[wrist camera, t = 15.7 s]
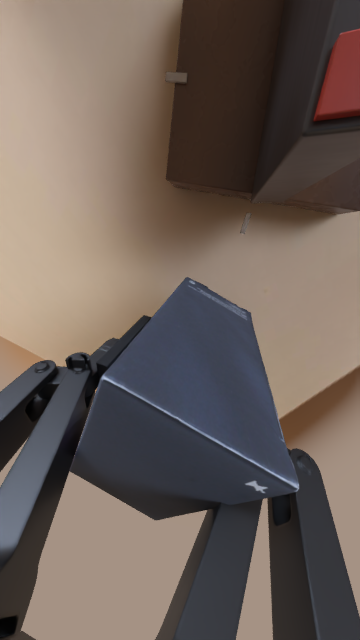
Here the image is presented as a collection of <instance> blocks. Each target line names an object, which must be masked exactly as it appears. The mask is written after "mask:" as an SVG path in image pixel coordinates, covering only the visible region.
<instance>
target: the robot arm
mask: <svg viewBox="0 0 360 640" xmlns="http://www.w3.org/2000/svg"><path fill="white" fill-rule="evenodd" d="M150 319H151V317H148V316H145V315H144V316H143V317H142V318H141V319H140V320H138V321H137V322H136V323H135V324H134V325H133V326H132V327H131V328H130V329H129V330H128V331H127V332H126V333H125V334H124V335H123V336H122V337H121V338H120V339H115V338H112V339H110V340H108V341H106V342H105V343H104V344H103V345H102V346H101V347H100V348H99V349H97V350H96V351H95V352H94V353H93V354H92V355H91V356H90V357H89V355H88V354H86V353H82V352H81V353H75V354H72V355H70V356H69V357H67V358H66V360H65V361H66V364H67V367H59V366H56V364H55V362H53V361H51V360H45V361H40V362H38V363H35V364H34V365H32V366H31V367H30V368H29V369H28V370H27V371H25V372H24V373H23V374H21V375H20V376H19V377H18V378H16V379H15V380H14V381H13V382H12V383H11V384H9V385H8V386H7V387H6V388H5V389H3V390H2V391H1V392H0V472H1V470H2V469H3V468H4V467H5V465H6V464H7V463H8V461H9V460H10V459H11V458H12V457H13V456H14V454H15V453H16V452H17V451H18V449H19V448H20V447H21V446H22V445H23V443H24V442H25V441H26V440H27V438H28V437H29V438H28V440H27V442H26V443H25V445H24V447H23V449H22V450H21V452H20V454H19V456H18V457H17V459H16V461H15V463H14V464H13V466H12V468H11V469H10V471H9V473H8V475H7V476H6V478H5V480H4V482H3V483H2V485H1V487H0V640H36V639H34V638H32V637H31V636H29V635H28V634H26V633H25V632H23V631H21V628H22V625H23V621H24V619H25V615H26V612H27V609H28V606H29V603H30V600H31V597H32V594H33V590H34V587H35V583H36V579H37V573H38V564H39V560H40V556H41V553H42V550H43V547H44V544H45V541H46V538H47V535H48V532H49V530H50V527H51V523H52V520H53V518H54V515H55V512H56V509H57V506H58V503H59V500H60V497H61V494H62V491H63V488H64V485H65V482H66V479H67V476H68V473H69V470H70V467H71V464H72V461H73V458H74V455H75V453H76V450H77V447H78V444H79V441H80V438H81V435H82V432H83V429H84V426H85V423H86V420H87V417H88V414H89V411H90V408H91V405H92V402H93V399H94V396H95V390H96V388H97V387H98V385H99V382H100V378H101V377H102V375H103V374H104V373H105V372H106V371H107V370H108V369H109V368H110V367H111V365H112V364H113V363H114V362H115V361H116V360H117V358H118V357H119V356H120V355H121V354H122V352H123V351H124V350H125V349H126V348H127V347H128V345H129V344H130V343H131V342H132V341H133V339H134V338H135V337H136V336H137V335H138V334H139V332H140V331H141V330H142V329H143V328H144V326H145V325H146V324H147V323H148V322H149V321H150ZM287 450H288V453H289V456H290V458H291V461H292V463H293V465H294V469H295V472H296V475H297V479H298V483H299V489H298V491H297V492H294V493H290V494H285V495H280V496H275V497H269V498H268V522H269V548H270V572H271V595H272V623H273V640H360V617H359V614H358V610H357V606H356V602H355V599H354V595H353V591H352V588H351V584H350V580H349V576H348V573H347V569H346V566H345V562H344V558H343V554H342V551H341V547H340V543H339V540H338V536H337V532H336V528H335V525H334V521H333V517H332V514H331V510H330V507H329V502H328V499H327V495H326V491H325V488H324V484H323V480H322V477H321V473H320V470H319V468H318V466H317V464H316V463H315V461H314V460H313V459H312V458H311V457H310V456H309V455H308V454H307V453H306V452H304V451H302V450H300V449H292V450H289V449H288V448H287ZM262 500H263V499H259V500H254V501H249V502H244V503H239V504H234V505H227V504H224V503H222V502H221V503H220V504H219V505H218V506H217V507H215V508H213V509H209V510H207V513H206V515H205V518H204V521H203V523H202V526H201V528H200V531H199V533H198V536H197V538H196V541H195V543H194V546H193V549H192V551H191V553H190V556H189V559H188V561H187V563H186V566H185V569H184V571H183V574H182V576H181V579H180V581H179V584H178V586H177V589H176V591H175V594H174V596H173V599H172V602H171V604H170V606H169V609H168V612H167V614H166V617H165V619H164V622H163V624H162V627H161V629H160V631H159V633H158V635H157V637H156V639H155V640H236V634H237V629H238V624H239V619H240V614H241V609H242V603H243V598H244V593H245V588H246V583H247V577H248V572H249V567H250V562H251V557H252V551H253V546H254V541H255V536H256V531H257V526H258V521H259V515H260V510H261V505H262ZM20 631H21V632H20Z"/></svg>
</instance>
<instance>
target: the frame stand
mask: <svg viewBox="0 0 360 640" xmlns="http://www.w3.org/2000/svg"><path fill="white" fill-rule="evenodd" d="M284 2H285V0H183V9H182V19H181V29H180V39H179V50H178V60H177V70H176V72H166V78H165V81H166V82H168V83H175V91H174V101H173V112H172V122H171V132H170V143H169V153H168V163H167V174H166V180H167V181H169V182H170V183H171V184H172V185H173V186H174V187H178V188H184V189H190V190H196V191H202V192H208V193H214V194H220V195H226V196H232V197H238V198H244V199H250V200H251V197H252V191H253V185H254V179H255V173H256V167H257V161H258V155H259V149H260V143H261V138H262V132H263V126H264V120H265V114H266V108H267V102H268V96H269V90H270V85H271V79H272V73H273V67H274V61H275V55H276V49H277V43H278V37H279V32H280V26H281V20H282V14H283V8H284ZM274 204H280V205H285V206H291V207H297V208H303V209H309V210H315V211H321V212H327V213H333V214H343V213H350V212H356V211H360V158H359V159H357V160H355V161H354V162H352V163H350V164H348V165H347V166H345V167H343V168H341V169H340V170H338V171H336V172H334V173H333V174H331V175H329V176H327V177H325V178H324V179H322V180H320V181H318V182H317V183H315V184H313V185H311V186H310V187H308V188H306V189H304V190H303V191H301V192H299V193H297V194H295V195H294V196H292V197H290V198H288V199H287V200H285V201H283V202H276V203H274ZM250 216H251V213H246V216H245V219H244V222H243V226H242V229H241V232H240V233H242V234H245V231H246V228H247V225H248V222H249V219H250Z"/></svg>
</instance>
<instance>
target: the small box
mask: <svg viewBox="0 0 360 640" xmlns="http://www.w3.org/2000/svg"><path fill="white" fill-rule="evenodd" d="M69 471H70V472H72V473H74V474H75V475H77V476H79V477H81V478H83V479H84V480H86V481H88V482H90V483H92V484H93V485H95V486H97V487H98V488H100V489H102V490H104V491H105V492H107V493H109V494H110V495H112V496H114V497H116V498H117V499H119V500H121V501H122V502H124V503H126V504H128V505H129V506H131V507H133V508H135V509H136V510H138V511H140V512H142V513H143V514H145V515H147V516H148V517H150V518H152V519H154V520H160V519H164V518H169V517H174V516H179V515H184V514H188V513H194V512H199V511H203V510H209V509H213V508H215V507H217V506H218V505H219V504H220V503H221V502H222V503H224V504H227V505H234V504H239V503H244V502H249V501H254V500H259V499H264V498H269V497H275V496H280V495H285V494H290V493H294V492H297V491H298V489H299V483H298V479H297V475H296V472H295V469H294V465H293V463H292V461H291V458H290V456H289V453H288V450H287V447H286V444H285V440H284V436H283V433H282V430H281V426H280V423H279V419H278V414H277V410H276V407H275V404H274V401H273V396H272V393H271V389H270V386H269V382H268V378H267V374H266V371H265V367H264V364H263V361H262V357H261V353H260V350H259V346H258V342H257V338H256V335H255V331H254V328H253V323H252V317H251V313H250V312H248V311H247V310H245V309H243V308H240V307H238V306H237V305H236V304H233V303H231V302H230V301H228V300H226V299H225V298H223V297H221V296H220V295H218V294H217V293H215V292H213V291H211V290H210V289H208V287H206V286H204V285H203V284H201V283H198V282H196V281H194V280H192V279H191V278H189V277H186V278H185V279H184V281H183V282H182V283H181V284H180V285H179V286H178V287H177V289H176V290H175V291H174V292H173V293H172V295H171V296H170V297H169V298H168V299H167V301H166V302H165V303H164V304H163V305H162V306H161V308H160V309H159V310H158V311H157V312H156V313H155V315H154V316H153V317H152V318H151V319H150V321H149V322H148V323H147V324H146V325H145V326H144V328H143V329H142V330H141V331H140V332H139V334H138V335H137V336H136V337H135V338H134V339H133V341H132V342H131V343H130V344H129V345H128V347H127V348H126V349H125V350H124V351H123V352H122V354H121V355H120V356H119V357H118V358H117V360H116V361H115V362H114V363H113V364H112V365H111V367H110V368H109V369H108V370H107V371H106V372H105V373H104V374H103V375H102V377H101V378H100V382H99V385H98V388H97V391H96V393H95V396H94V400H93V403H92V406H91V409H90V412H89V415H88V418H87V421H86V424H85V427H84V430H83V433H82V436H81V439H80V442H79V445H78V448H77V450H76V453H75V456H74V459H73V461H72V464H71V467H70V470H69Z"/></svg>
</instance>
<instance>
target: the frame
mask: <svg viewBox="0 0 360 640" xmlns="http://www.w3.org/2000/svg"><path fill="white" fill-rule="evenodd" d="M359 158H360V0H285V2H284V8H283V14H282V20H281V26H280V32H279V37H278V43H277V49H276V55H275V61H274V67H273V73H272V79H271V85H270V90H269V96H268V102H267V108H266V114H265V120H264V126H263V132H262V138H261V143H260V149H259V155H258V161H257V167H256V173H255V179H254V185H253V191H252V197H251V203H276V202H283V201H285V200H287V199H288V198H290V197H292V196H294V195H295V194H297V193H299V192H301V191H303V190H304V189H306V188H308V187H310V186H311V185H313V184H315V183H317V182H318V181H320V180H322V179H324V178H325V177H327V176H329V175H331V174H333V173H334V172H336V171H338V170H340V169H341V168H343V167H345V166H347V165H348V164H350V163H352V162H354V161H355V160H357V159H359Z"/></svg>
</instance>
